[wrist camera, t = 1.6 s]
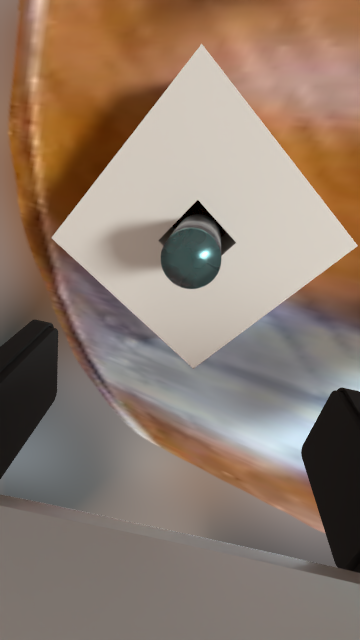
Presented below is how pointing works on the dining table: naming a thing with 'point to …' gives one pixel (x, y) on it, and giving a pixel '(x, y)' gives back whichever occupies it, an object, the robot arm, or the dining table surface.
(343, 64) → the dining table surface
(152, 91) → the dining table surface
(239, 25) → the dining table surface
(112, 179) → the block
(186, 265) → the peg
